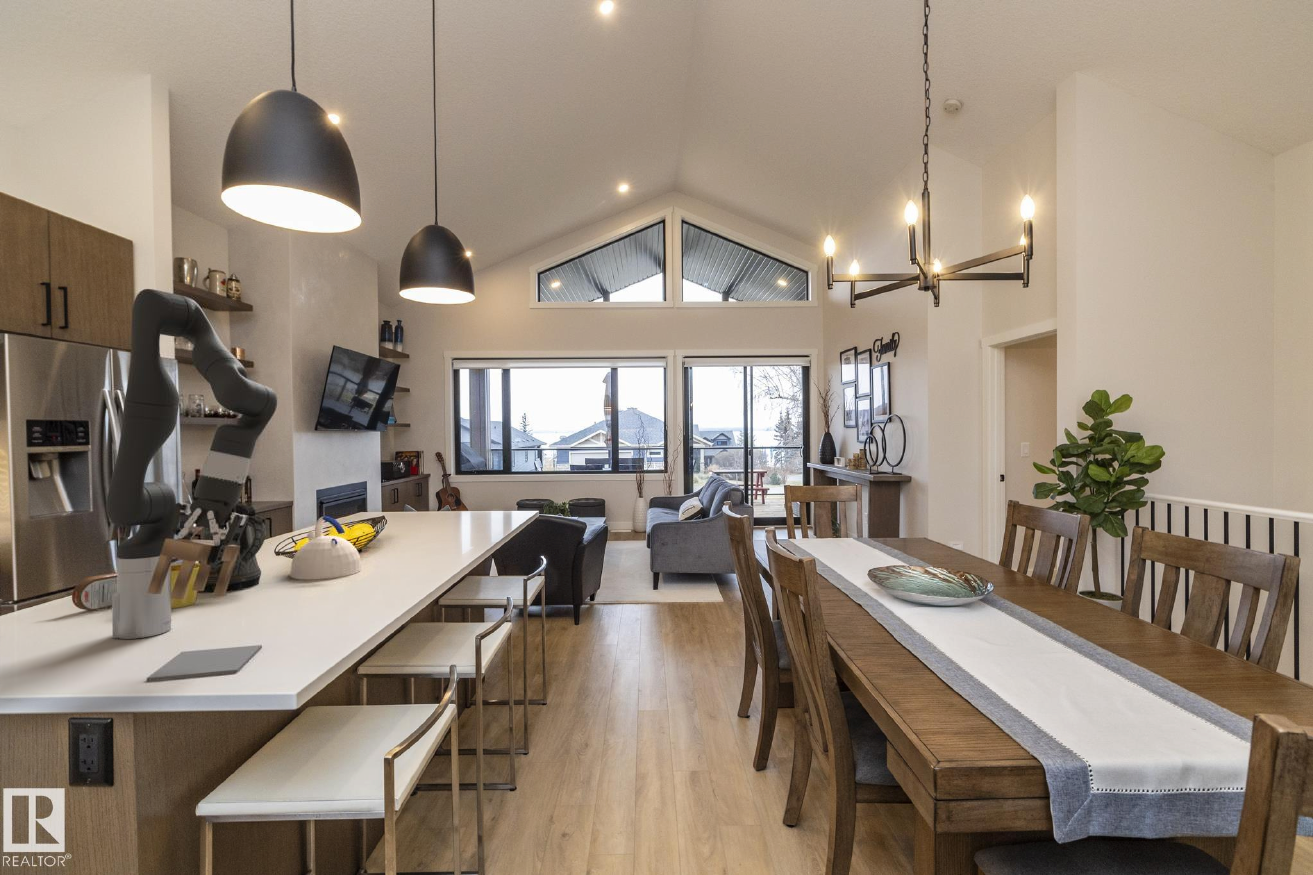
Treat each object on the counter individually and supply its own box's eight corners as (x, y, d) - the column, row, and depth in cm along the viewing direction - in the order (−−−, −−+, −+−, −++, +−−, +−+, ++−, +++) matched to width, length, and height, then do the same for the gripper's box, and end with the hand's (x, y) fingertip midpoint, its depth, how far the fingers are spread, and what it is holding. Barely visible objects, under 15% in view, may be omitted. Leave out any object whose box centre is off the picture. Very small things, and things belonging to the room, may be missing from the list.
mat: (146, 681, 110) (146, 677, 110) (181, 654, 124) (181, 651, 124) (237, 672, 114) (237, 669, 114) (261, 647, 128) (261, 644, 128)
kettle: (341, 563, 213) (341, 510, 212) (374, 571, 200) (374, 515, 200) (277, 574, 196) (277, 517, 196) (309, 583, 184) (308, 522, 184)
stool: (213, 540, 128) (165, 538, 116) (240, 546, 127) (195, 545, 115) (197, 589, 126) (147, 592, 114) (224, 595, 125) (177, 599, 114)
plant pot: (211, 602, 162) (211, 565, 162) (163, 612, 153) (163, 572, 153) (193, 597, 168) (193, 561, 168) (146, 606, 159) (146, 568, 159)
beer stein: (206, 581, 186) (206, 498, 186) (279, 577, 191) (279, 496, 191) (181, 595, 170) (180, 504, 170) (261, 590, 175) (261, 501, 175)
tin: (140, 598, 166) (140, 567, 166) (148, 600, 165) (148, 568, 165) (70, 614, 152) (70, 579, 152) (78, 615, 151) (78, 580, 151)
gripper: (174, 468, 120) (145, 554, 117) (243, 481, 119) (216, 569, 116) (204, 473, 127) (177, 555, 124) (269, 485, 126) (244, 568, 123)
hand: (196, 561), depth 120 cm, fingers closed on stool, 6 cm apart
